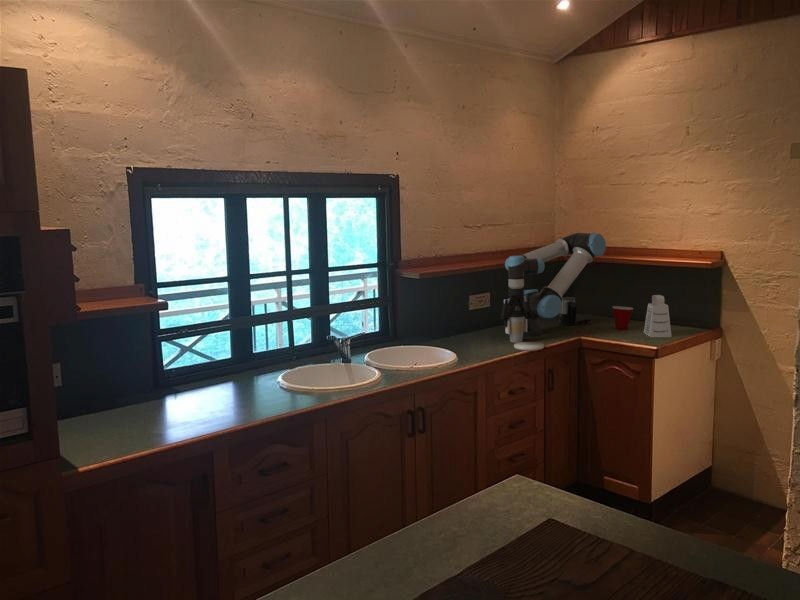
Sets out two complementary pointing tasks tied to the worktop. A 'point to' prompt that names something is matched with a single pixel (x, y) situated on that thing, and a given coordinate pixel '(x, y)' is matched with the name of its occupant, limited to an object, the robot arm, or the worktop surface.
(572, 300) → the milk frother
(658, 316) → the grater
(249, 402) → the worktop surface
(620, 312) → the plastic cup
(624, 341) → the worktop surface
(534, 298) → the robot arm
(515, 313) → the coffee cup
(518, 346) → the saucer
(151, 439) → the worktop surface
